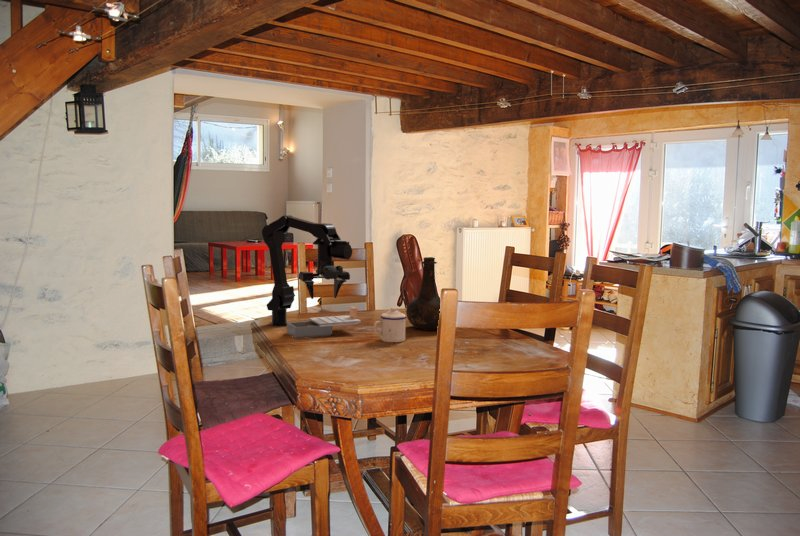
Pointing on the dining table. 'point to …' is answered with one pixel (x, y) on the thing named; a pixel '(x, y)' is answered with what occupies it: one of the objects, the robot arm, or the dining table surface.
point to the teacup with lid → (392, 326)
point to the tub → (307, 329)
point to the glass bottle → (425, 300)
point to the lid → (338, 319)
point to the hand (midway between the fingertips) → (323, 298)
